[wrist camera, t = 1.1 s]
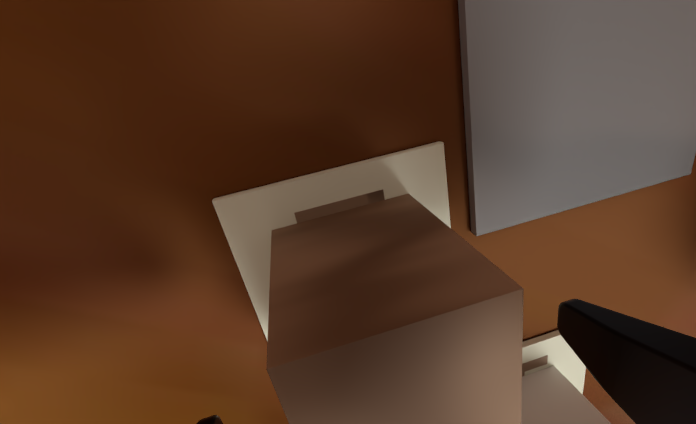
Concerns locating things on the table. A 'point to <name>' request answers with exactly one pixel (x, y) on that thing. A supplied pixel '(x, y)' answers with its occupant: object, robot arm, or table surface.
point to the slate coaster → (573, 102)
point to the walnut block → (391, 322)
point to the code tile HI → (553, 358)
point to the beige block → (555, 401)
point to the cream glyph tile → (324, 206)
